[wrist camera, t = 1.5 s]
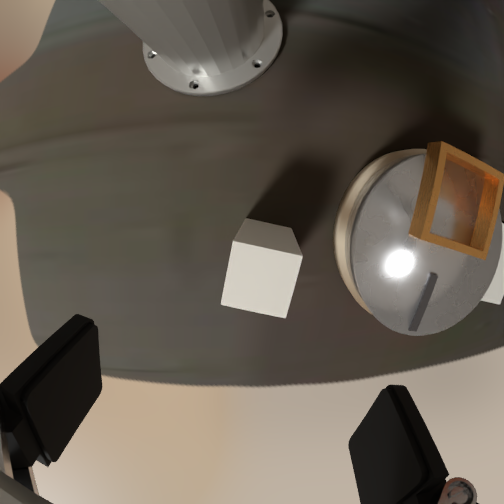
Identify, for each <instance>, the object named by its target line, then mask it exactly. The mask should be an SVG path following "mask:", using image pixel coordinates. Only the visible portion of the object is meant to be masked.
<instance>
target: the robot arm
mask: <svg viewBox="0 0 504 504" xmlns="http://www.w3.org/2000/svg"><path fill="white" fill-rule="evenodd" d="M98 1H99V2H100V3H101V4H103V5H104V6H105V7H106V8H107V9H108V10H110V11H111V12H112V13H113V14H114V15H115V16H116V17H117V18H119V19H120V20H121V21H122V22H123V23H124V24H125V25H126V26H127V27H128V28H130V29H131V30H132V31H133V32H134V33H135V34H136V35H137V36H138V37H139V38H140V39H141V40H142V41H143V55H144V59H145V62H146V64H147V67H148V69H149V70H150V72H151V73H152V74H153V75H154V76H155V78H156V79H158V80H159V81H160V82H161V83H162V84H164V85H165V86H167V87H169V88H171V89H172V90H174V91H177V92H180V93H183V94H187V95H194V96H214V95H220V94H225V93H228V92H231V91H234V90H237V89H240V88H242V87H244V86H246V85H248V84H250V83H251V82H253V81H254V80H255V79H257V78H258V77H260V76H261V75H262V74H263V73H264V72H265V71H266V70H267V69H268V68H269V67H270V66H271V65H272V63H273V61H274V60H275V58H276V57H277V55H278V52H279V49H280V47H281V43H282V36H283V32H282V22H281V18H280V15H279V13H278V11H277V9H276V8H275V6H274V5H273V4H272V3H271V1H270V0H98ZM154 56H155V57H154ZM153 57H154V58H153ZM255 65H260V67H259V68H255ZM196 85H199V86H198V88H196V89H194V86H196ZM101 390H102V378H101V368H100V356H99V340H98V327H97V326H96V325H94V321H93V320H92V319H90V318H87V317H84V316H82V315H79V314H76V315H74V316H73V317H72V318H71V319H70V320H69V321H67V322H66V323H65V324H64V325H63V326H62V327H61V328H59V329H58V330H57V331H56V332H55V333H54V334H53V335H52V336H50V337H49V338H48V339H47V340H46V341H45V342H44V343H43V344H42V345H40V346H39V347H38V348H37V349H36V350H35V351H34V352H33V353H32V354H31V355H30V356H29V357H27V358H26V359H25V361H23V362H22V363H21V364H20V365H19V366H18V367H17V368H16V369H15V370H14V371H13V372H12V373H11V374H10V375H9V376H8V377H7V378H6V379H5V380H4V381H3V382H2V383H1V384H0V504H53V503H51V502H49V501H48V500H46V499H44V498H42V497H41V496H39V493H38V489H37V485H36V482H35V478H34V474H33V470H32V466H33V464H34V462H35V461H36V460H37V461H39V462H40V463H42V464H44V465H45V466H49V465H50V463H51V462H56V461H57V460H58V459H59V457H60V455H61V454H62V452H63V451H64V449H65V447H66V446H67V444H68V443H69V441H70V440H71V438H72V436H73V435H74V433H75V432H76V430H77V429H78V427H79V425H80V424H81V422H82V421H83V419H84V418H85V416H86V415H87V413H88V412H89V410H90V409H91V407H92V406H93V404H94V403H95V401H96V400H97V398H98V397H99V395H100V393H101ZM349 451H350V455H351V460H352V464H353V469H354V474H355V478H356V483H357V488H358V492H359V497H360V502H361V504H478V503H477V502H476V501H477V493H476V490H475V488H474V486H473V485H472V484H471V483H470V482H469V481H468V480H466V479H464V478H460V477H455V478H452V479H450V480H449V481H447V482H446V480H445V478H446V477H447V476H448V475H449V473H448V471H447V469H446V467H445V464H444V462H443V460H442V458H441V456H440V453H439V451H438V449H437V447H436V445H435V443H434V441H433V439H432V437H431V435H430V433H429V430H428V429H427V426H426V424H425V422H424V420H423V418H422V417H421V414H420V413H419V411H418V409H417V407H416V405H415V403H414V401H413V399H412V397H411V395H410V393H409V391H408V390H407V388H406V387H405V386H403V385H388V386H387V387H386V388H385V389H383V390H382V391H381V392H380V394H379V395H378V397H377V398H376V400H375V402H374V403H373V405H372V407H371V408H370V410H369V411H368V413H367V414H366V416H365V417H364V419H363V420H362V422H361V423H360V425H359V426H358V428H357V429H356V431H355V432H354V434H353V435H352V436H351V438H350V440H349Z"/></svg>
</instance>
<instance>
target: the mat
mask: <svg viewBox="0 0 504 504" xmlns="http://www.w3.org/2000/svg"><path fill="white" fill-rule="evenodd" d="M503 295H504V224H503V223H502V248H501V254H500V259H499V263H498V267H497V270H496V273H495V275H494V278H493V280H492V282H491V284H490V286H489V288H488V290H487V291H486V293H485V295H484V296H483V298H482V299H481V300H482V301H486V302H491V303H495V304H500V302H501V300H502V297H503Z"/></svg>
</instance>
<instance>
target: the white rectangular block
mask: <svg viewBox="0 0 504 504" xmlns="http://www.w3.org/2000/svg"><path fill="white" fill-rule="evenodd" d="M302 257H303V256H302V253H301V251H300V248H299V246H298V243H297V241H296V238H295V236H294V233H293V231H292V228H289V227H284V226H280V225H275V224H271V223H266V222H262V221H257V220H252V219H248V218H245V220H244V222H243V224H242V226H241V227H240V229H239V231H238V233H237V235H236V237H235V238H234V240H233V244H232V249H231V254H230V259H229V264H228V269H227V274H226V280H225V285H224V290H223V295H222V301H221V305H225V306H229V307H234V308H238V309H243V310H248V311H252V312H257V313H262V314H267V315H272V316H277V317H282V318H286V315H287V312H288V308H289V305H290V301H291V298H292V294H293V290H294V287H295V283H296V279H297V276H298V272H299V268H300V265H301V261H302Z"/></svg>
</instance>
